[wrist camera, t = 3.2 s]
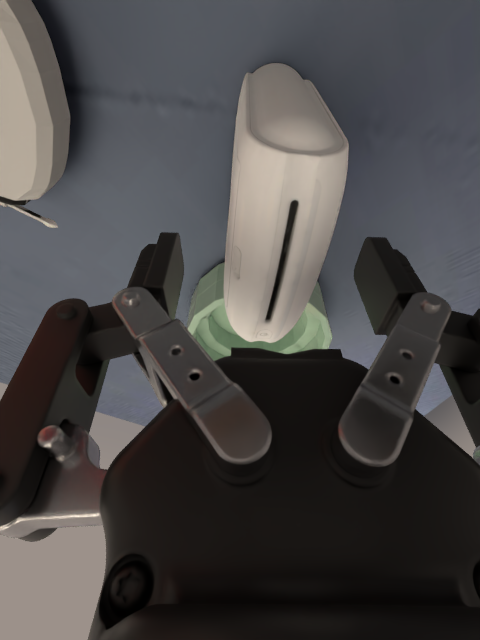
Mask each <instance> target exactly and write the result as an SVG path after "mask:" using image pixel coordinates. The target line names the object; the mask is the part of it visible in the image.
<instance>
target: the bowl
mask: <svg viewBox="0 0 480 640" xmlns="http://www.w3.org/2000/svg"><path fill="white" fill-rule="evenodd" d="M224 267H225V263H221V264H219V265H217V266H216V267H215V268H214V269H212V270H211V271H210V272H209V273H207V274H206V275H205V276H204V277H203V278H201V279H200V280H199V283H198V285H197V287H196V289H195V292H194V294H193V296H192V299H191V305H190V311H189V316H188V322H187V329H188V330H189V332H190V333H191V334H192V335H193V336H194V338H195V339H196V340H197V341H198V342H199V344H200V345H201V346H202V347H203V348H204V350H205V351H206V352H207V353H208V354H209V356H210V357H211V358H212V359H213V360H214V361H215V360H218V359H220V358H223V357H226V356H230V355H231V347H238V348H261V349H265V350H270V351H274V352H279V353H283V354H291V353H296V352H301V351H306V350H310V349H328V348H329V345H330V343H331V340H332V333H331V329H330V325H329V321H328V317H327V312H326V308H325V304H324V300H323V297H322V293H321V289H320V285H319V283H318V281H317V282H316V285H315V287H314V290H313V292H312V294H311V297H310V299H309V301H308V303H307V305H306V307H305V309H304V311H303V313H302V314H301V316H300V318H299V320H298V321H297V323H296V324H295V325H294V327H293V328H292V329H291V330H290V331H289V332H288V333H287V334H286V335H285V336H284V337H283V338H281V339H280V340H278V341H276V342H273V343H268V342H265V341H254V342H248V341H246V340H245V339H243V338H242V337H240V336H239V335H238V334H237V333H236V332H235V331H234V329H233V328H232V326H231V325H230V322H229V320H228V317H227V314H226V309H225V301H224Z"/></svg>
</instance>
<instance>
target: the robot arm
mask: <svg viewBox="0 0 480 640" xmlns="http://www.w3.org/2000/svg"><path fill="white" fill-rule="evenodd" d="M414 272H415V271H414V270H413V268H412V266H410V263H409V261H408V260H407V258H406V257H405V256H404V255H403V254H402V253H400V252H399V251H398V250H396V249H393V248H392V247H391V245H390V243H389V241H388V240H387V238H383V237H367V238H366V239H365V241H364V243H363V246H362V249H361V251H360V254H359V257H358V260H357V263H356V265H355V269H354V280H355V283H356V285H357V288H358V291H359V293H360V296H361V298H362V301H363V304H364V306H365V309H366V312H367V314H368V317H369V319H370V322H371V325H372V327H373V330H374V333H375V335H387V337H388V338H387V339H386V341H385V343H384V345H383V346H382V348H381V350H380V351H379V353H378V355H377V357H376V358H375V360H374V362H373V363H372V365H371V367H370V369H369V370H368V369H367V368H365V367H364V366H362V365H360V364H358V363H356V362H354V361H351V360H348V359H345V358H343V357H342V353H341V349H310V350H306V351H301V352H296V353H291V354H283V353H279V352H274V351H270V350H265V349H261V348H238V347H231V355H230V356H226V357H223V358H220V359H218V360H215V361H214V360H213V359H212V358H211V357H210V356H209V354H208V353H207V352H206V351H205V350H204V348H203V347H202V346H201V345H200V344H199V342H198V341H197V340H196V339H195V338H194V336H193V335H192V334H191V333H190V332H189V330H188V329H187V328H186V327H185V326H184V324H183V323H182V322H181V321H180V320H179V319H175V314H176V309H177V304H178V299H179V295H180V290H181V285H182V280H183V275H184V263H183V256H182V249H181V242H180V235H179V233H164V232H161V233H160V236H159V239H158V242H157V244H148V245H147V246H146V247H145V248H144V249H143V250H142V251H141V253H140V256H139V258H138V261H137V263H136V267H135V269H134V271H133V274H132V276H131V279H130V281H129V284H128V287H127V288H125V289H123V290H121V291H119V292H118V293H117V294H116V295H115V296H114V297H113V299H112V302H110V303H107V304H103V305H98V306H93V307H88V305H87V303H86V302H85V301H83V300H81V299H74V298H73V299H66V300H62V301H60V302H58V303H56V304H54V305H53V306H52V307H50V308H49V309H48V311H47V312H46V314H45V316H44V318H43V320H42V322H41V324H40V326H39V328H38V330H37V331H36V333H35V335H34V337H33V339H32V341H31V343H30V345H29V347H28V349H27V351H26V353H25V354H24V356H23V358H22V360H21V362H20V364H19V366H18V368H17V370H16V372H15V374H14V376H13V377H12V379H11V381H10V383H9V385H8V387H7V389H6V391H5V393H4V395H3V397H2V399H1V401H0V534H1V535H4V536H7V537H11V538H19V539H22V540H25V541H30V542H33V541H38V540H41V539H44V538H46V537H47V536H49V535H50V534H52V533H53V532H54V531H55V530H56V529H57V528H62V527H79V526H96V525H103V527H104V532H105V539H106V569H105V576H104V582H103V586H102V590H101V593H100V597H99V600H98V604H97V608H96V611H95V615H94V619H93V622H92V626H91V629H90V633H89V637H88V640H480V309H478V310H477V311H476V313H475V314H474V315H473V316H471V315H467V314H463V313H459V312H455V311H451V307H450V305H449V304H448V303H447V302H446V301H445V300H444V299H442V298H441V297H439V296H437V295H435V294H432V293H427V291H426V289H425V288H424V286H423V284H422V283H421V281H420V279H419V278H418V276H417V274H416V273H414ZM129 354H132V355H133V357H134V359H135V360H136V362H137V363H138V365H139V366H140V368H141V370H142V371H143V373H144V374H145V376H146V378H147V379H148V381H149V382H150V384H151V386H152V388H153V389H154V392H155V394H156V396H157V398H158V399H159V401H160V403H161V405H162V406H163V409H162V410H161V411H160V413H159V414H158V415H157V416H156V417H155V418H154V419H153V420H152V421H151V422H150V423H149V424H148V425H147V426H146V427H145V428H144V429H143V430H142V431H141V432H140V433H139V434H138V435H137V436H136V437H135V438H134V439H133V440H132V441H131V442H130V443H129V444H128V445H127V446H126V447H125V448H124V449H123V450H122V451H121V452H120V453H119V454H118V455H117V457H116V458H115V459H114V461H113V462H112V464H111V465H110V467H109V469H108V470H104V469H100V465H99V460H100V450H99V447H98V445H97V444H96V442H95V441H94V440H93V439H92V437H91V436H90V435H89V431H90V427H91V424H92V421H93V417H94V414H95V410H96V407H97V403H98V400H99V396H100V393H101V389H102V386H103V382H104V379H105V375H106V372H107V368H108V365H109V361H110V359H113V358H117V357H121V356H125V355H129ZM434 363H437V364H439V365H440V368H441V370H442V372H443V374H444V377H445V379H446V381H447V383H448V386H449V388H450V390H451V392H452V394H453V397H454V399H455V401H456V403H457V406H458V408H459V410H460V412H461V415H462V417H463V419H464V421H465V423H466V426H467V428H468V430H469V432H470V434H471V437H472V439H473V441H474V444H475V446H476V449H475V450H474V453H473V458H472V457H471V456H470V455H468V454H467V453H466V452H465V451H464V450H463V449H461V448H460V447H459V446H458V445H457V444H456V443H454V442H453V441H452V440H451V439H450V438H448V437H447V436H446V435H445V434H444V433H443V432H441V431H440V430H439V429H438V428H437V427H436V426H434V425H433V424H432V423H431V422H430V421H428V420H427V419H426V418H425V417H424V416H423V415H422V414H420V413H419V412H418V411H417V410H416V409H415V408H416V405H417V403H418V401H419V398H420V396H421V393H422V391H423V388H424V386H425V384H426V381H427V379H428V376H429V374H430V372H431V369H432V367H433V364H434Z"/></svg>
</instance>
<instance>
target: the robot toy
mask: <svg viewBox="0 0 480 640" xmlns="http://www.w3.org/2000/svg"><path fill="white" fill-rule="evenodd" d="M69 132H70V112H69V108H68V103H67V99H66V94H65V90H64V85H63V81H62V77H61V72H60V68H59V64H58V61H57V58H56V55H55V52H54V49H53V46H52V42H51V39H50V37H49V34H48V32H47V29H46V27H45V24H44V22H43V20H42V18H41V17H40V15H39V13H38V11H37V9H36V8H35V6H34V4H33V2H32V1H31V0H0V205H2V206H4V207H7V206H9V207H11V208H13V209H16V210H18V211H20V212H22V213H24V214H26V215H28V216H30V217H32V218H34V219H36V220H38V221H40V222H42V223H44V225H46V226H48V227H50V228H55V227H58V226H57V224H56V222H55V221H53V220H51V219H49V218H48V219H46V218H44V217H42V216H40V215H38V214H36V213H34V212H32V211H30V210H28V209H26V208H24V207H21V206H19V205H25V204H26V203H28V202H29V201H30V200H34V199H39V198H40V197H41V196H42V195H44V194H45V193H46V192H47V191H48V190H50V189H51V188H52V187H53V186H54V185H55V184H56V183H57V182H58V180H59V179H60V178H61V177H62V175H63V173H64V170H65V166H66V162H67V157H68V148H69Z"/></svg>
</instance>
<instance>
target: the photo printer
mask: <svg viewBox="0 0 480 640" xmlns="http://www.w3.org/2000/svg"><path fill="white" fill-rule="evenodd" d="M348 151H349V143H348V140H347V138H346V137H345V135H344V133H343V132H342V130H341V128H340V127H339V125H338V123H337V122H336V120H335V118H334V117H333V115H332V113H331V112H330V110H329V108H328V107H327V105H326V104H325V102H324V101H323V99H322V97H321V96H320V94H319V92H318V91H317V89H316V88H315V86H314V85H313V83H312V82H311V81H309V80H303V79H302V78H301V76H300V75H299V74H298V73H297V71H296V70H294V69H293V68H291V67H290V66H288V65H285V64H282V63H270V64H267V65H264V66H262V67H260V68H258V69H257V70H256V71H255V72H254V73H246V75H245V78H244V81H243V84H242V88H241V93H240V96H239V102H238V111H237V116H236V128H235V138H234V149H233V162H232V175H231V191H230V204H229V215H228V227H227V238H226V251H225V267H224V301H225V309H226V314H227V317H228V320H229V322H230V325H231V326H232V328H233V329H234V331H235V332H236V333H237V334H238V335H239V336H240V337H242V338H243V339H245V340H246V341H248V342H254V341H265V342H268V343H273V342H276V341H278V340H280V339H281V338H283V337H284V336H285V335H286V334H287V333H288V332H289V331H290V330H291V329H292V328H293V327H294V325H295V324H296V323H297V321H298V320H299V318H300V316H301V314H302V313H303V311H304V309H305V307H306V305H307V303H308V301H309V299H310V297H311V294H312V292H313V290H314V287H315V285H316V282H317V280H318V277H319V275H320V272H321V269H322V266H323V263H324V260H325V257H326V254H327V251H328V248H329V245H330V242H331V239H332V235H333V232H334V228H335V225H336V222H337V217H338V214H339V210H340V206H341V201H342V197H343V193H344V188H345V183H346V177H347V168H348Z"/></svg>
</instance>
